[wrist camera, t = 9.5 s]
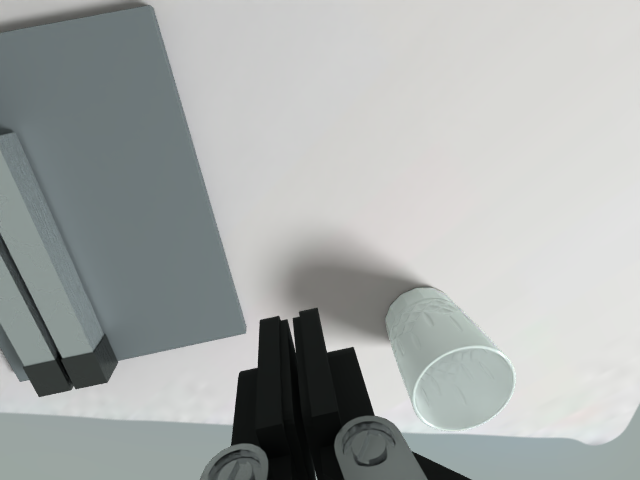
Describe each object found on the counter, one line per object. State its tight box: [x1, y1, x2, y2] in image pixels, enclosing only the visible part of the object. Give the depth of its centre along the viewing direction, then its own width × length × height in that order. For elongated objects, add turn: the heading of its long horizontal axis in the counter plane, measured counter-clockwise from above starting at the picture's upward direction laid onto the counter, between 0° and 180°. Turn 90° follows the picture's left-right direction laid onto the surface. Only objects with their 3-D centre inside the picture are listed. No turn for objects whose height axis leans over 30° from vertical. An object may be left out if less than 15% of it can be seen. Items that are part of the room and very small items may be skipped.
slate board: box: [0, 5, 246, 382], centre depth 32 cm, size 26×20×1 cm
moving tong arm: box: [0, 132, 118, 389], centre depth 30 cm, size 25×5×3 cm, turn 10°
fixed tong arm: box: [0, 233, 74, 397], centre depth 31 cm, size 20×3×3 cm, turn 10°
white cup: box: [385, 287, 516, 432], centre depth 35 cm, size 8×8×10 cm
